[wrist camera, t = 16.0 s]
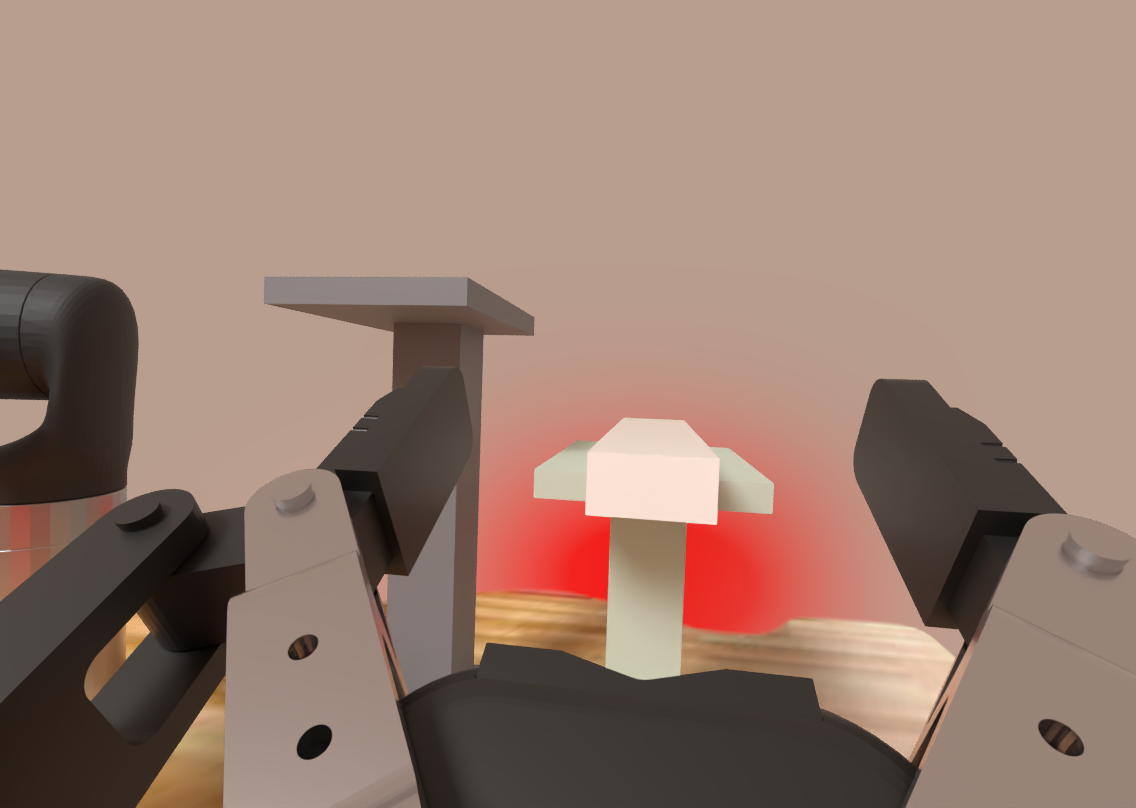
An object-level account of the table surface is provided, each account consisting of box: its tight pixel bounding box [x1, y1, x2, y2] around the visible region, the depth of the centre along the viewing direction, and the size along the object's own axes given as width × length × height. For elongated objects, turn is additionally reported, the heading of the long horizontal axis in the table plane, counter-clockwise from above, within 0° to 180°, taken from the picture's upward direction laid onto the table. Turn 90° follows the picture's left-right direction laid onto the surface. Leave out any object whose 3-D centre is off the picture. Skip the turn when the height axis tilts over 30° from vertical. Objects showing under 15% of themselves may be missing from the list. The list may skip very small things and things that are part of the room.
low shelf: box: [534, 441, 774, 680], centre depth 36 cm, size 18×14×22 cm
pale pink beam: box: [585, 418, 720, 525], centre depth 29 cm, size 22×4×2 cm, turn 171°
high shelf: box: [264, 277, 534, 694], centre depth 39 cm, size 18×14×32 cm
